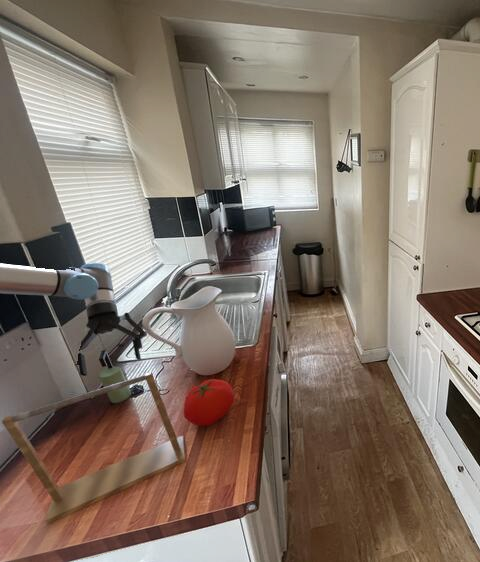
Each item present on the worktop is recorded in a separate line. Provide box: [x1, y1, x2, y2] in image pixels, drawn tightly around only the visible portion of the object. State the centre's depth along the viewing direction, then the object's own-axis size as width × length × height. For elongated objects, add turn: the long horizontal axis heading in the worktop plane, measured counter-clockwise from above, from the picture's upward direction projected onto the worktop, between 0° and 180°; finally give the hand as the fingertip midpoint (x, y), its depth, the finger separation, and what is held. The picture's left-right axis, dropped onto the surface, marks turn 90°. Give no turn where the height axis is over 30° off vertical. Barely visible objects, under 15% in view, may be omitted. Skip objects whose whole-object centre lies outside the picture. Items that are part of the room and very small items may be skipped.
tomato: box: [183, 378, 235, 427], centre depth 86 cm, size 13×12×11 cm
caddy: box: [98, 349, 132, 404], centre depth 94 cm, size 5×5×16 cm
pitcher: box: [142, 285, 236, 376], centre depth 103 cm, size 24×17×28 cm
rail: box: [1, 371, 187, 525], centre depth 68 cm, size 25×8×25 cm, turn 123°
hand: (112, 366), depth 96 cm, fingers open, 13 cm apart
